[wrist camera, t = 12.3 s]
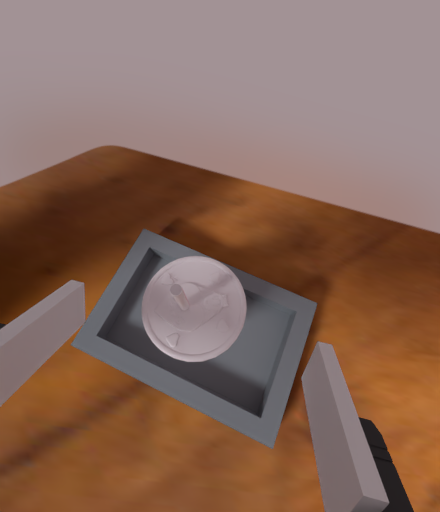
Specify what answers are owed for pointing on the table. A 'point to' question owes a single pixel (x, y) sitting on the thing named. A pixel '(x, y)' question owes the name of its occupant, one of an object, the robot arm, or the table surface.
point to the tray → (213, 370)
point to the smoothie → (194, 308)
